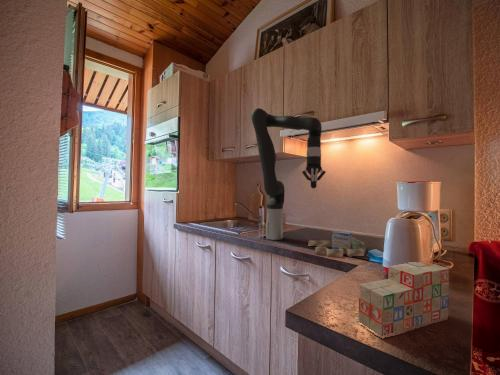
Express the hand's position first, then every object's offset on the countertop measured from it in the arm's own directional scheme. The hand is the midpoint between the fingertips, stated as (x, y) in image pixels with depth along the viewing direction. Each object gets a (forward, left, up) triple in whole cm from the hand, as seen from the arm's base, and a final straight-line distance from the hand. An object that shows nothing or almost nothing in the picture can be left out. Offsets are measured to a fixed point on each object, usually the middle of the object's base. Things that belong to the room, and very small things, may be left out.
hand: (313, 188), depth 132 cm
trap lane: (+6, -19, -29) cm, 35 cm away
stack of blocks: (0, -77, -29) cm, 82 cm away
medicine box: (+9, -17, -29) cm, 35 cm away
